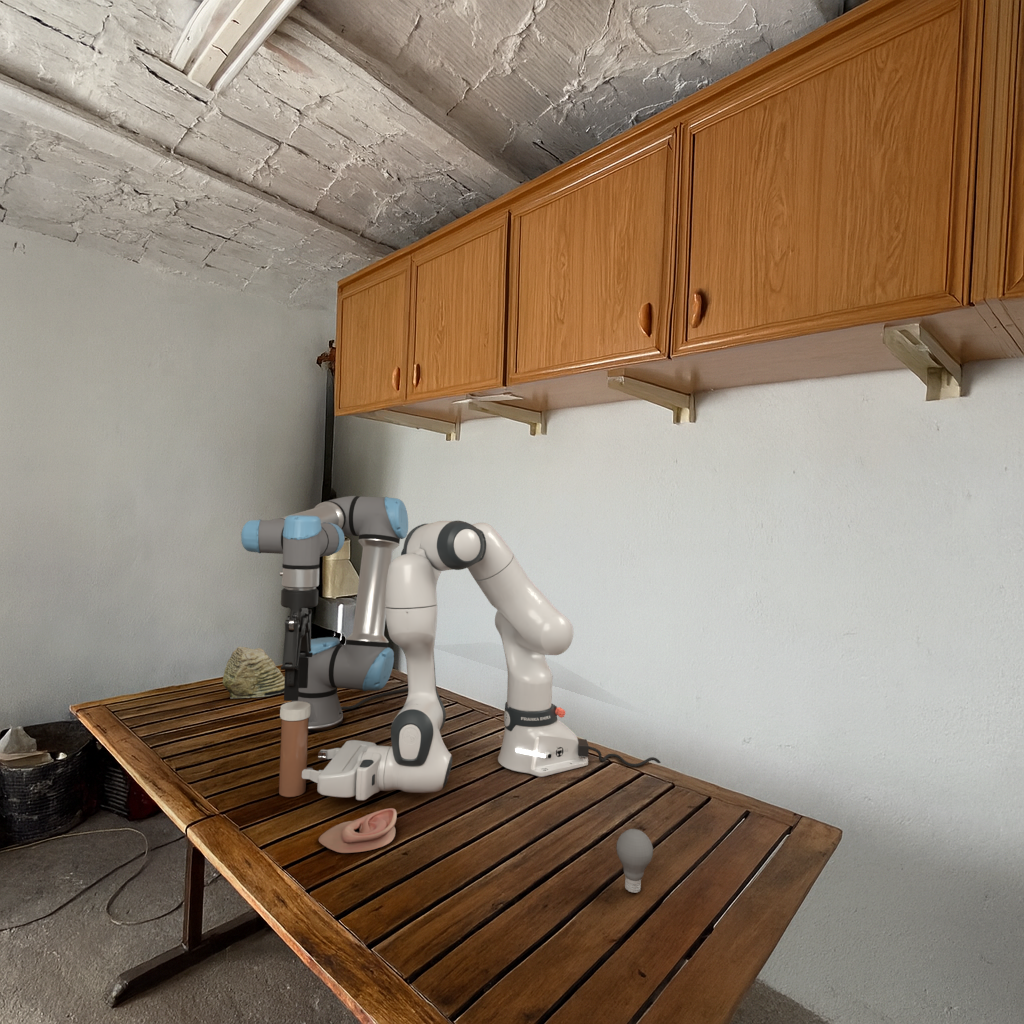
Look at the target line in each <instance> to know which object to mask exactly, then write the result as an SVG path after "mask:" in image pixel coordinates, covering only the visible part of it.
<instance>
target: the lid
mask: <svg viewBox="0 0 1024 1024" xmlns="http://www.w3.org/2000/svg"><path fill="white" fill-rule="evenodd" d="M310 710H311V707H310V704H309V703H307V702H302V701H295V702H292V701H287V702H284V703H283V704H281V705H280V709H279V718H280V719H283V720H286V721H299V720H304V719H306V718H308V717H309V716H310Z"/></svg>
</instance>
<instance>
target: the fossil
mask: <svg viewBox="0 0 1024 1024" xmlns="http://www.w3.org/2000/svg"><path fill="white" fill-rule="evenodd" d="M222 676H223V677H222V685H223V687H224V688H225V690H226V691H228V693H229V698H230V699H250V698H264V697H271V696H275V695H281V694H284V684H285V675H284V674H283V673H282V672H281V669H279V668H278V667H277V665H276V663H275V662H274V660H273V659H272V658H271V657H270V656H269V655H268V654H267V653H266V652H265V650H264V649H263V648H260V647H258V648H251V647H247V646H246V647H245V646H238V647H237V648H236V649H235V650H233V651H232V653H231V656H230V657H229V659H228V660H227V663H226V666H225V668H224V671H223V675H222Z"/></svg>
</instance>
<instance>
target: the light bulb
mask: <svg viewBox="0 0 1024 1024" xmlns="http://www.w3.org/2000/svg"><path fill="white" fill-rule="evenodd" d="M615 849H616V854H617V857H618V859H619V861H620V863H621V865H622V867H623V873H624V874H623V875H624V876H625V878H624V888H625V890H627V891H628V892H630V893H634V894H635V893H639V892H640V891H641V889H642V887H641V886H642V879H643V877H644V875H645V871H646V868H647V867H648V866H649V864H650V863H651V861H652V859H653V855H654V847H653V843H652V841H651V838H649V836H648V835H647V834H646V833H645V832H643V831H642V830H641V829H636V828H629V829H627V830H625V831H623V832H622V833H621V834H620V835H619V837H618V839H617V841H616V847H615Z"/></svg>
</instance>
